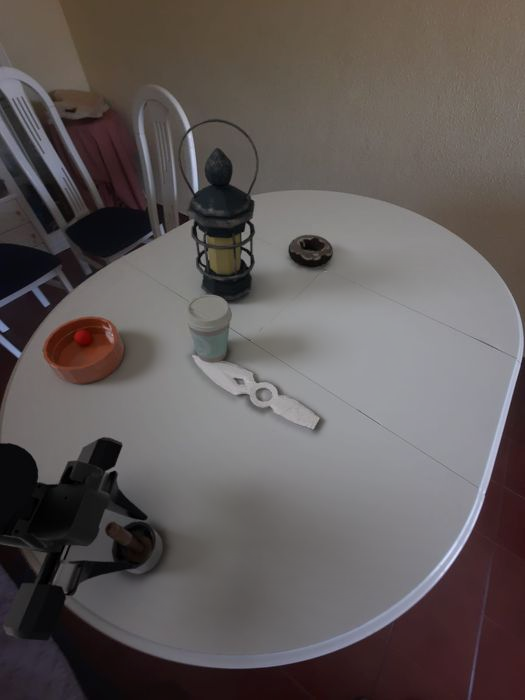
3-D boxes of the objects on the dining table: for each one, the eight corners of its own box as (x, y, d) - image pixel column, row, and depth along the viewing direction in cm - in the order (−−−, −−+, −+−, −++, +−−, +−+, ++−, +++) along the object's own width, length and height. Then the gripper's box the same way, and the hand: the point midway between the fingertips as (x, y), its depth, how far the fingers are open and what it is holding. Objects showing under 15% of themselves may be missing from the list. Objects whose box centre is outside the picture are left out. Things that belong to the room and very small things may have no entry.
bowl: (60, 395, 62) (47, 380, 58) (51, 346, 69) (39, 329, 65) (132, 369, 66) (125, 353, 62) (116, 325, 73) (109, 308, 70)
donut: (330, 246, 94) (333, 233, 91) (331, 272, 87) (334, 259, 84) (289, 243, 95) (290, 230, 92) (286, 268, 87) (287, 255, 84)
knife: (308, 438, 58) (309, 436, 57) (181, 366, 67) (181, 363, 66) (323, 411, 61) (324, 409, 60) (201, 346, 70) (200, 344, 69)
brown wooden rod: (133, 568, 45) (97, 550, 35) (127, 544, 47) (91, 520, 36) (156, 555, 46) (129, 534, 36) (150, 532, 48) (121, 505, 37)
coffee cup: (186, 343, 70) (178, 297, 62) (226, 334, 73) (223, 288, 64) (196, 373, 65) (189, 328, 56) (238, 362, 67) (237, 317, 59)
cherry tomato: (79, 351, 68) (72, 340, 65) (76, 340, 70) (70, 329, 67) (95, 345, 69) (89, 334, 66) (92, 335, 70) (86, 324, 68)
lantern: (192, 305, 78) (161, 134, 51) (202, 270, 86) (180, 106, 59) (254, 309, 78) (256, 138, 51) (258, 273, 86) (261, 110, 59)
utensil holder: (127, 582, 44) (117, 578, 41) (118, 541, 47) (107, 534, 44) (167, 560, 46) (161, 554, 43) (156, 521, 49) (148, 513, 46)
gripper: (-49, 641, 23) (152, 651, 31) (74, 400, 34) (196, 453, 43) (-74, 627, 29) (97, 639, 37) (37, 428, 41) (149, 470, 49)
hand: (139, 541), depth 41 cm, fingers open, 5 cm apart
